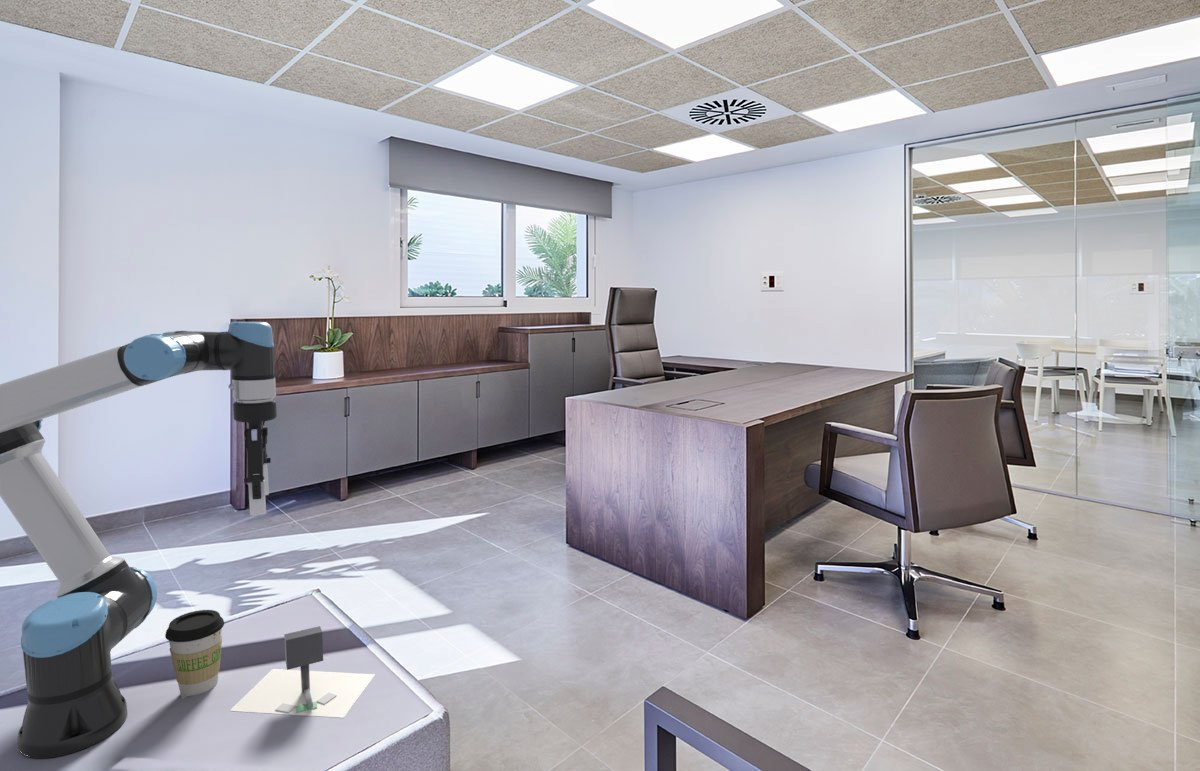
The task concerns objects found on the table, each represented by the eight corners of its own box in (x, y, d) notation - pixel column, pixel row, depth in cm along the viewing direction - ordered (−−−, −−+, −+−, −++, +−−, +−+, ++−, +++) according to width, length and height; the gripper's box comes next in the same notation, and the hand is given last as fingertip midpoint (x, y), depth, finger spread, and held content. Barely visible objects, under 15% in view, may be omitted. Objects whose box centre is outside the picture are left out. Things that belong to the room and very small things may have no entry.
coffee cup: (200, 709, 121) (195, 635, 119) (157, 702, 123) (151, 629, 121) (239, 680, 131) (235, 611, 129) (198, 674, 132) (193, 605, 131)
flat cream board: (229, 716, 119) (229, 709, 119) (272, 674, 133) (272, 667, 133) (343, 723, 118) (343, 716, 117) (375, 679, 131) (375, 673, 131)
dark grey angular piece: (287, 692, 124) (284, 634, 123) (322, 682, 128) (320, 626, 126) (291, 715, 117) (288, 654, 116) (329, 704, 121) (326, 645, 119)
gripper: (238, 392, 135) (243, 489, 138) (226, 410, 113) (233, 526, 115) (277, 391, 138) (281, 486, 141) (274, 408, 116) (279, 520, 119)
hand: (259, 504), depth 128 cm, fingers open, 13 cm apart
